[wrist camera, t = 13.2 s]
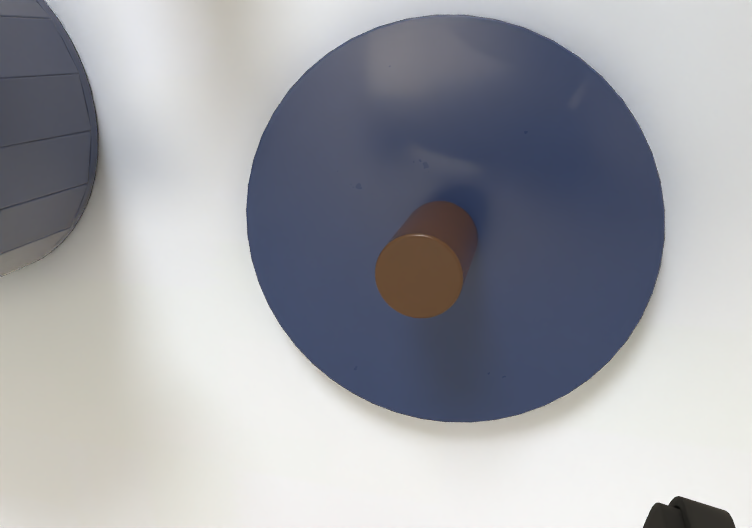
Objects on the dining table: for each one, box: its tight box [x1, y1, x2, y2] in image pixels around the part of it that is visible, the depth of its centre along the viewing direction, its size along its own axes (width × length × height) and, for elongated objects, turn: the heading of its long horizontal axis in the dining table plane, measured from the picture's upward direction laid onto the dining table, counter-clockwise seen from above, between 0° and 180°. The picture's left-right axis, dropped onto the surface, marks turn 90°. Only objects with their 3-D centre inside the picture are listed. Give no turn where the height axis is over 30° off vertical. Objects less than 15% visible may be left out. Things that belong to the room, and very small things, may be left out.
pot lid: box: [246, 15, 665, 422], centre depth 22 cm, size 15×15×6 cm
